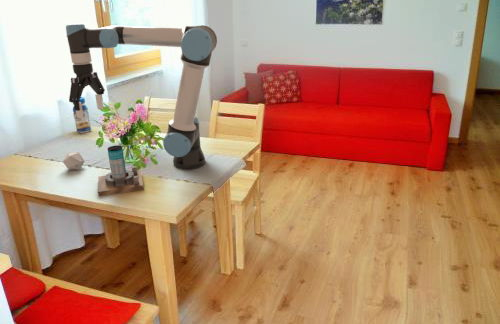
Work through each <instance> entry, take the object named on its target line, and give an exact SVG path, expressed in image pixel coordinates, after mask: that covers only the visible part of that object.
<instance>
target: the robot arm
mask: <svg viewBox="0 0 500 324" xmlns="http://www.w3.org/2000/svg"><path fill="white" fill-rule="evenodd" d="M65 32H66V38H67V43H68V47H69V52H70V59H71V63H72V70H73V73H74V74H75V75H76V77H71V78H70V83H71V85H70V91H69V92H70V93H69V97H68V99H69V100H68V102H69V103H72V104H73V103H74V105H73V107H75V110H76V114H77V118H84V116H83V110H82V105H81V102H79V101H80V98H81V97H82V94H83V91H84V89H85V87H88V86H89V87H90V88H91V89H92V90H93V91H94V93H95V94H94V96H95V100H96V107H97V110H104V109H105V108H104V102H103V95H104V94H105V88H104V85H103V83H102V82H101V80H100V78H99V76H98V72H97V71H94V69H93V63H92V57H91V56H92V55H91V49H114V48H116V47H118V45H135V46H150V47H151V46H152V47H153V46H154V47H169V48H170V47H173V48H175V47H176V48H180V49H181V54H180V61H181V62H182V64H183V66H182V71H181V76H180V81H179V86H178V91H177V92H178V93H177V96H176V103H175V107H174V108H175V109H174V114H173V117H172V119H171V120H169V122H168V127H167V130H166V131H167V132H166V135H165V136H164V138H163V141H162V143H163V145H162V146H163V149H164V150H165V151H166V153H168V155H170V156H171V157H173V159H172V163H173V167H175V169H180V170H195V169H198V168H202V167H203V166H204V165H205V164H206V158H205V155H204V152H203V150H202V147H201V136H200V122H199V118H198V117H197V116H196V113H197V112H196V111H197V109H198V108H197V107H198V102H199V98H200V93H201V88H202V83H203V78H204V74H205V69H206V68H207V67H209V66H210V64H211V63H210V62H211V57H212V54H213V52H214V51H215V49H216V47H217V44H218V40H217V39H218V38H217V35H216V32H215V31H214V30H213V29H212V28H211V27H210V26H207V25H192V26H189V25H186V26H184V28H178V27H175V28H174V27H157V26H156V27H151V26H130V25H128V26H127V25H119V24H111V25H109V26H103V27H97V28H87V26H86V24H85V23H84V22H82V23H80V22H79V23H77V22H75V23H73V22H72V23H67V24H66V25H65ZM76 99H77V100H76Z"/></svg>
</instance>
